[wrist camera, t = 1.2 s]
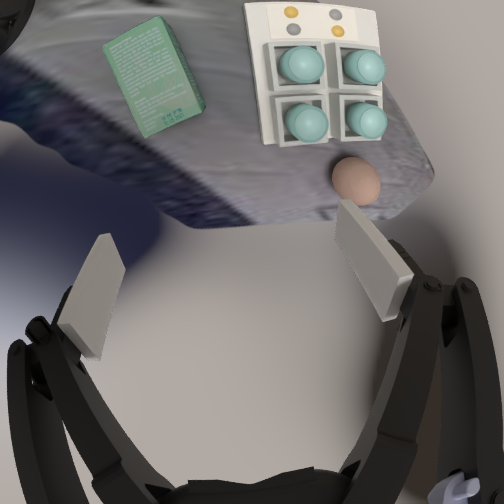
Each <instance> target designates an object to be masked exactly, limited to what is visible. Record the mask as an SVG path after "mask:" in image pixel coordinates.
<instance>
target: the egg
mask: <svg viewBox="0 0 504 504" xmlns="http://www.w3.org/2000/svg"><path fill="white" fill-rule="evenodd" d="M332 182H333V186H334V188H335V190H336V192H337V193H338V194H339V196H340V197H341V198H343V199H351V200H352V201H353V202H354V203H355V204H356V205H368V204H370V203H372V202H374V201H375V200H376V199H377V197H378V196H379V193H380V179H379V176H378V174H377V172H376V170H375V169H374V168H373V166H372V165H371V164H369V163H368V162H367V161H365V160H363V159H361V158H358V157H348V158H344V159H342V160H341V161H340V162H338V163H337V164H336V166H335V168H334V170H333V173H332Z"/></svg>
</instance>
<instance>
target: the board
mask: <svg viewBox="0 0 504 504" xmlns="http://www.w3.org/2000/svg"><path fill="white" fill-rule="evenodd" d="M243 10H244V17H245V23H246V29H247V36H248V43H249V50H250V57H251V64H252V71H253V78H254V85H255V93H256V100H257V108H258V116H259V124H260V132H261V140H262V143H263V144H264V145H266V144H274V143H277V144H278V145H279V147H286V146H295V145H305V144H316V143H328V138H336V139H337V140H339V141H341V142H343V141H365V140H381V136H380V137H379V138H377V139H367V138H365V137H363V136H361V135H359V134H357V133H355V132H353V131H352V130H351V129H350V128H349V127H348V125H347V122H346V113H347V110H348V108H349V107H350V106H351V105H352V104H354V103H356V102H365V103H368V104H372V105H375V106H378V107H379V108H381V109H382V81H381V82H380V83H378V84H374V85H371V84H365V83H358V82H355V81H353V80H351V79H350V78H349V77H348V76H347V75H346V74H345V72H344V69H343V60H344V57H345V56H346V55H347V54H348V53H349V52H351V51H358V50H372V51H374V52H376V53H378V54H379V55H380V47H379V37H378V28H377V21H376V14H375V11H371V10H366V9H361V8H354V7H348V6H340V5H331V4H321V3H307V2H259V3H245V4H244V6H243ZM298 46H308V47H311V48H314V49H315V50H317V51H318V52H319V53H320V54H321V56H322V57H323V60H324V63H325V69H324V72H323V74H322V76H321V77H320V78H319V79H318V80H317V81H315V82H312V83H297V82H292V81H289V80H288V79H286V78H285V77H284V76H283V75H282V74H281V72H280V70H279V66H278V62H279V58H280V56H281V55H282V54H283V53H284V52H285V51H287V50H289V49H292V48H295V47H298ZM298 103H306V104H310V105H313V106H315V107H318V108H320V109H321V110H323V111H324V113H325V114H326V116H327V118H328V122H329V127H328V131H327V133H326V135H325V136H324V137H323V138H322V139H321V140H319V141H317V142H314V143H305V142H302V141H300V140H299V139H297V138H296V137H295V136H294V135H292V134H291V133H290V132H289V131H288V130H287V128H286V126H285V120H284V119H285V114H286V112H287V110H288V109H289V108H290V107H291V106H293V105H295V104H298Z"/></svg>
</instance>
